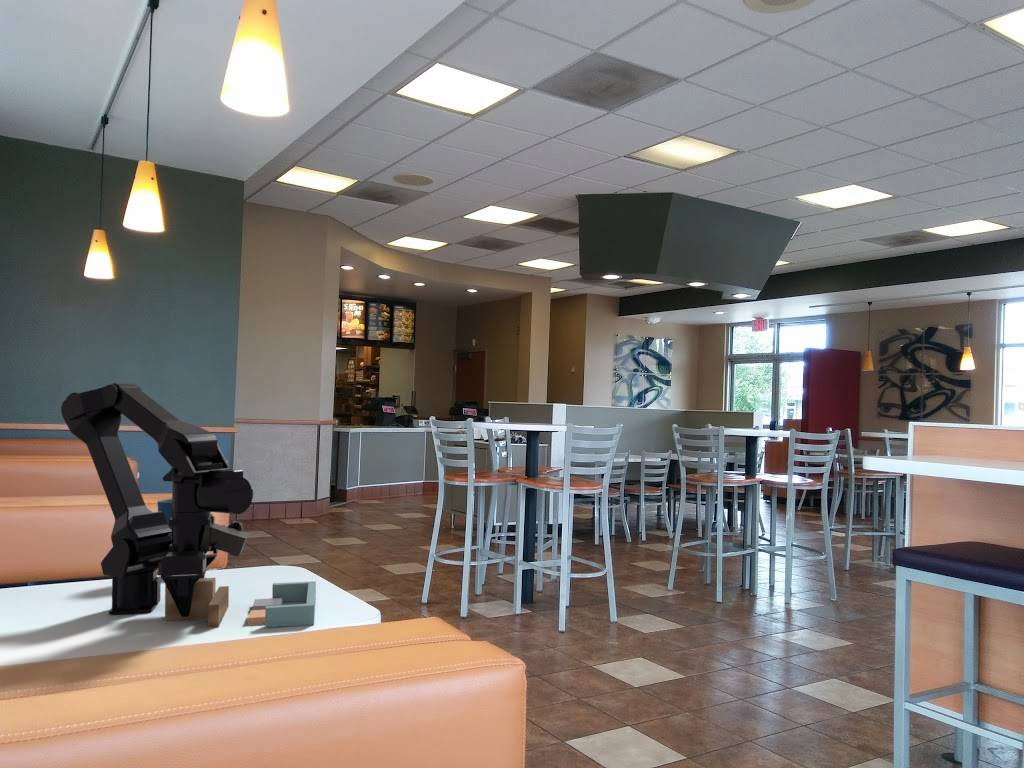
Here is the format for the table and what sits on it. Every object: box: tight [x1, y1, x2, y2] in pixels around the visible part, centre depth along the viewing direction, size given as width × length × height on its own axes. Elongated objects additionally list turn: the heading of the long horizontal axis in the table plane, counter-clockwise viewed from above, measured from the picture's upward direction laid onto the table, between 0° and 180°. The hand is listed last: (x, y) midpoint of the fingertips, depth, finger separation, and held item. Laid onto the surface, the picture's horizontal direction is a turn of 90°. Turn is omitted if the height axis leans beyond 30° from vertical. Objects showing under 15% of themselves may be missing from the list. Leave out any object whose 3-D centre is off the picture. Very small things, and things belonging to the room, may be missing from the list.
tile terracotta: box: [247, 609, 265, 626], centre depth 122 cm, size 4×4×2 cm
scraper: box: [164, 577, 230, 629], centre depth 123 cm, size 8×12×6 cm
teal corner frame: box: [264, 580, 317, 629], centre depth 126 cm, size 7×16×3 cm, turn 13°
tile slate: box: [252, 597, 283, 610], centre depth 128 cm, size 4×4×2 cm
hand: (190, 608), depth 122 cm, fingers open, 9 cm apart
